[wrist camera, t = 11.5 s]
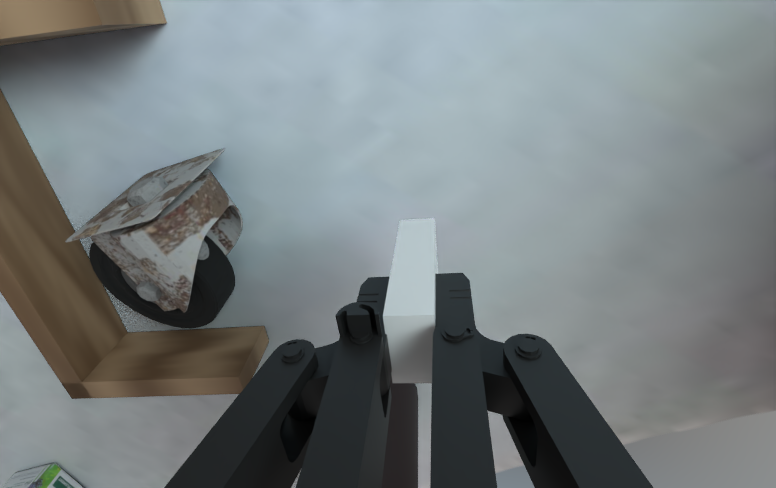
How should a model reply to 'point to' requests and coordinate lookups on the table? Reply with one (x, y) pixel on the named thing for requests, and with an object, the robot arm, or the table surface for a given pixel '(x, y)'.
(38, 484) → the syrup box
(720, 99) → the table surface
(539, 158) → the table surface
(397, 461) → the bottle
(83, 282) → the bay
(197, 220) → the caster wheel
